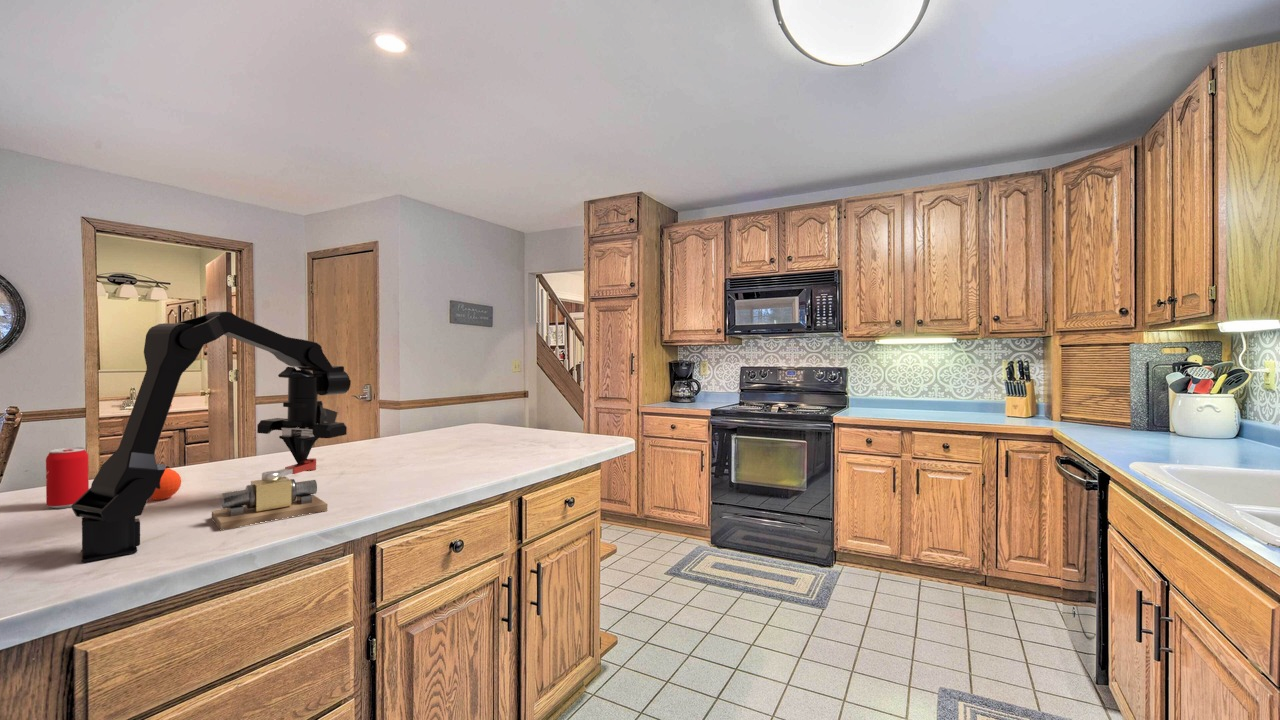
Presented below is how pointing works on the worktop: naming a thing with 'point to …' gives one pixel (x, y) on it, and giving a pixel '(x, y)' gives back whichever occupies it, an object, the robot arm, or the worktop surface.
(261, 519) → the mounting board
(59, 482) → the beverage can
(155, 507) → the worktop surface
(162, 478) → the clementine
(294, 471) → the valve lever
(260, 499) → the valve
